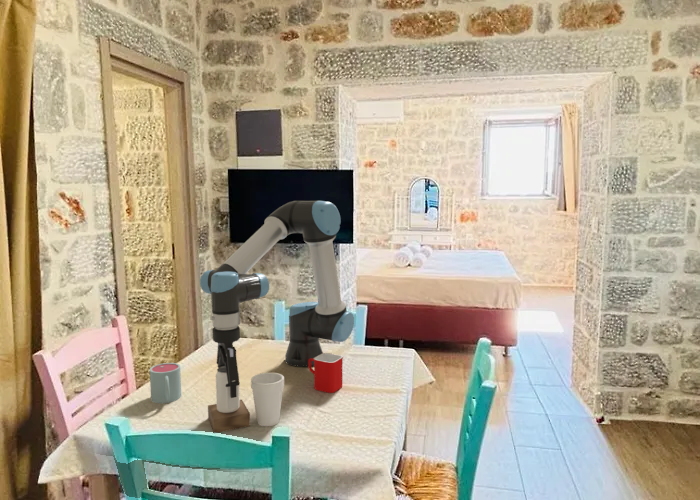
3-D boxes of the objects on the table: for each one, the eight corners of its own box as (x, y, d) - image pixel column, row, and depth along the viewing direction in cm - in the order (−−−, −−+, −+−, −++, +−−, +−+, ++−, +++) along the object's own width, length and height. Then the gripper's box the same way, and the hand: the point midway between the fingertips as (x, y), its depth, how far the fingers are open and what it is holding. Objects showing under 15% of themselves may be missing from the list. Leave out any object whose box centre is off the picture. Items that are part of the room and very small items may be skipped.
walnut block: (242, 412, 149) (241, 399, 149) (249, 426, 140) (249, 412, 140) (208, 418, 145) (207, 405, 144) (214, 433, 136) (213, 419, 135)
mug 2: (344, 385, 170) (344, 355, 169) (332, 394, 162) (332, 363, 161) (315, 379, 175) (315, 350, 174) (302, 387, 168) (302, 357, 167)
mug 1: (150, 394, 162) (149, 365, 161) (180, 390, 166) (179, 361, 165) (151, 411, 150) (150, 379, 149) (183, 406, 153) (182, 375, 152)
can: (234, 414, 138) (232, 373, 137) (212, 412, 140) (211, 372, 138) (243, 405, 145) (242, 365, 143) (223, 403, 146) (221, 364, 145)
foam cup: (254, 414, 148) (253, 372, 146) (285, 413, 148) (284, 371, 147) (250, 429, 138) (249, 385, 137) (283, 428, 139) (283, 384, 137)
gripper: (205, 317, 149) (207, 385, 151) (220, 340, 126) (223, 418, 129) (230, 315, 152) (232, 381, 154) (249, 336, 130) (251, 413, 132)
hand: (228, 398), depth 142 cm, fingers open, 13 cm apart
